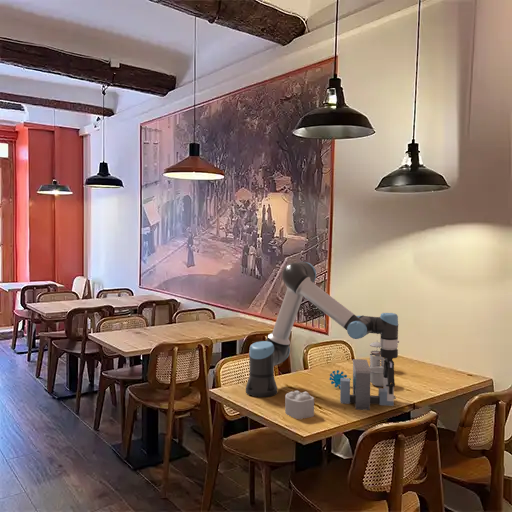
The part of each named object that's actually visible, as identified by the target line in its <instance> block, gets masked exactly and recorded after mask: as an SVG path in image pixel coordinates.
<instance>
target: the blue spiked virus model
mask: <svg viewBox="0 0 512 512" xmlns="http://www.w3.org/2000/svg"><path fill="white" fill-rule="evenodd" d="M329 376H330V377H329V379H328V380H329V381H331V382H330V384H331V385H333V384H334V388H339V390H340V380H341V378H347V377H348V375H347V374H344V371H340V370H337V369H336V370H333V371H332V373H329ZM348 378H349V377H348ZM349 379H350V381H351V380H352V379H351V377H350V378H349Z"/></svg>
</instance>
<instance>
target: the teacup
mask: <svg viewBox="0 0 512 512" xmlns="http://www.w3.org/2000/svg"><path fill="white" fill-rule="evenodd" d="M383 369H384V367H374V368H370V370H371V373H370V384H372V385H375V386H374V387H379V388H382V387H384V378H385V377H384V375H383Z"/></svg>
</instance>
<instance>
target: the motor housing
mask: <svg viewBox="0 0 512 512" xmlns="http://www.w3.org/2000/svg"><path fill="white" fill-rule="evenodd" d="M370 373H371V370H370V364H369V362H368V360H367V359H364V358H363V359H360V358H357V359H356V358H355V359H352V395H355V403H354V407H355V410H358V411H370V410H371V404H370V395H371V382H370Z"/></svg>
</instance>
